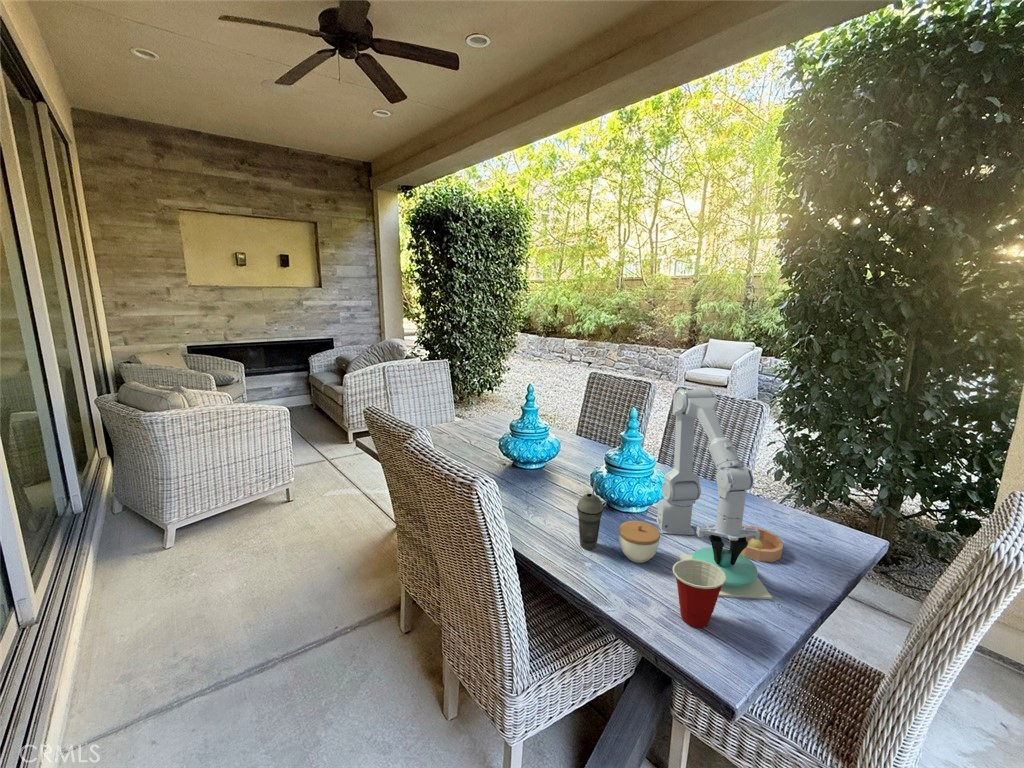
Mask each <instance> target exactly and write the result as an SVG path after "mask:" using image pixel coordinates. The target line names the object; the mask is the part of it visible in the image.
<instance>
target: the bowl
mask: <svg viewBox="0 0 1024 768" xmlns="http://www.w3.org/2000/svg"><path fill="white" fill-rule="evenodd" d="M742 527H747V528H753V529H757V530H758V531H759V532H760V537H759V540H755V539H754V538H746V541H747V542H748V545H747V547H746V548H745V549H744V550H743V551H742V552H741V553H740V554H742V555H743V556H745V557H747V558H748V559H749V560H755V561H758V562H767V563H768V562H770V563H773V562H775V561H779V560H781V559H782V555H783V548H784V542H783V540H781V539H780V537H779V536H778V535H776V534H775V533H773V532H771V531H769V530H767V529H763V528H760V527H757V526H753V525H752V526H750V525H749V526H748V525H742ZM728 544H729V545H730V540H729V539H728Z"/></svg>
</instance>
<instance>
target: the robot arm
mask: <svg viewBox="0 0 1024 768" xmlns="http://www.w3.org/2000/svg"><path fill="white" fill-rule="evenodd" d="M717 407H718V400H717V395H716V393H715V392H714V390H713V389H711V388H705V389H678V390H677V391H676V392H675V393H674V394H673V400H672V414H673V416H675V434H674V435H675V436H674V452H673V453H674V457H673V458H674V459H673V468H672V469H671V470H669V471H668V472H667V473H665V474H664V477H663V482H662V485H661V492H662V496H663V498H664V499H659V501H658V505H657V517H656V520H655V521H656V522H657V526H658V527H659V528H660V533H662V534H667V535H670V534H671V535H687V536H689V535H690V536H691V535H692V536H695V535H697V537H698V538H703V537H708V539H709V542H710V544H711V547H712V548H713V553H714V560H715V562H716V564H720V561H721V552H722V549H723V548H724V546H725V544H724V541H723V539H722V538H726V539H728V541H729V540H730V544H729V550H730V551H731V552H732V556H731V565H735V562H736V560H737V558H738V556H739V555H740V553H741V552H742V551H743V550H744V549H745V548H746V547H747V545H748V542H747V541H746V538H754V539H755V540H759V537H760V532H759V531H758V530H757V529H753V528H747V527H742V526H743V518H744V512H745V503H746V498H747V497H746V496H747V491H749V490H751V489H752V488H753V487H754V476H753V474H752V470H751V469H750V467H748V466H746V465H745V463H744V462H743V461H741V460H740V458H739V455H738V454H737V453H738V452H737V451H736V449H735V447H734V445H733V442H732V440H731V439H728V438H725V435H724V432H723V429H722V426H721V424H720V421H719V418H718V414H717V412H716V411H717ZM696 419H697V420H698V421H699V424H700V425H701V427H702V429H703V430H704V432H705V434H706V437H707V438H708V440H709V445H708V451H709V453H710V456H711V458H712V460H713V463H714V465H715V468H716V470H717V473H716V474H715V480H716V484H717V494H718V503H717V504H718V505H717V511H716V512H717V513H716V521H715V523H714V524H707V525H697V526H696V531H694V529H693V528H692V526H691V523H692V515H693V505H694V504H696V501H697V500H699V499H700V497H701V494H702V489H701V484H700V477H699V475H697V473H695V472H693V464H694V463H693V459H694V441H695V440H694V439H695V420H696ZM695 533H696V534H695Z"/></svg>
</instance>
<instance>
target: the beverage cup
mask: <svg viewBox="0 0 1024 768" xmlns="http://www.w3.org/2000/svg"><path fill="white" fill-rule="evenodd" d="M592 485H593V486H592V493H585V494H583V495H582V496H581V497H580V498H579V499H578V502H577V506H576V510H577V516H578V535H579V546H580V547H581V549H584V550H587V551H594V550H595V549H596V548H597V543H598V539H599V538H598V537H599V531H600V526H601V525H600V524H601V518H602V516H603V512H604V506H603V503H602V500H601V498H600V497H599V496H598V495H596V494H595V491H596V480H594V481H593V484H592Z"/></svg>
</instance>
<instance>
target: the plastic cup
mask: <svg viewBox="0 0 1024 768" xmlns="http://www.w3.org/2000/svg"><path fill="white" fill-rule="evenodd" d="M672 574H673V575H674V577H675V580H676V584H677V586H676V587H677V595H678V603H679V610H680V612H679V613H680V617H681V619H682V621H683V622H684V623H685V624H686V625H688V626H690V627H692V628H696V629H704V628H706V627H707V626H708V625H709V623H710V621H711V618H712V615H713V613H714V610H715V608H716V604H717V601H718V598H719V596H718V595H719V592H720V591H721V587H722V585H723V584H724V582H725V580H726V576H725V573H724V572H723V571H722V570H721V569H720V568H719V567H717V566H715V565H714V564H712V563H709V562H706V561H703V560H695V559H687V560H681V559H680V560H679V561H677V562H675V564H673V566H672Z"/></svg>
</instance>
